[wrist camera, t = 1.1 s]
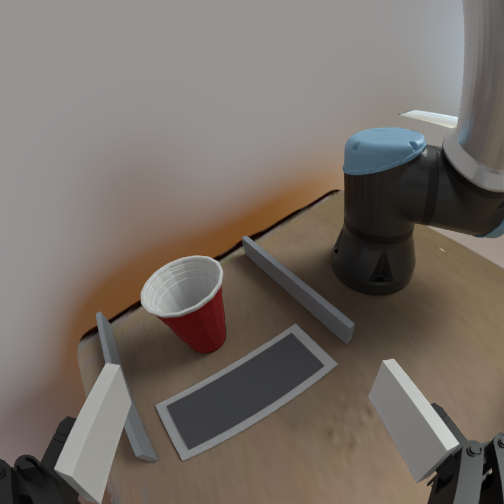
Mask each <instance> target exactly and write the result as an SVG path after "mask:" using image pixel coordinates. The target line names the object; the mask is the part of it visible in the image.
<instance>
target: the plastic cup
mask: <svg viewBox="0 0 504 504" xmlns="http://www.w3.org/2000/svg"><path fill="white" fill-rule="evenodd" d="M222 278H223V270H222V268H221V266H220V264H219V262H218V261H216V260H214V259H212V258H210V257H207V256H190V257H184V258H180V259H178V260H175V261H173V262H171V263H168V264H166V265H165V266H163V267H162V268H160V269H159V270H157V271H156V272H155V273H154V274H153V275H152V276H151V277H150V278H149V279H148V280H147V281H146V283H145V285H144V287H143V290H142V292H141V304H142V305H143V306H144V307H145V309H146V310H147V311H148V312H149V313H150V314H153V315H155V316H157V317H158V318H159V319H161V320H162V321H163V322H164V323H165V324H167V325H168V326H169V327H170V328H171V329H172V330H173V331H174V332H175V333H176V334H177V335H178V336H179V337H180V338H181V339H182V340H183V341H184V342H185V343H187V344H188V345H189V346H190V347H191V348H192V349H193V350H195V351H197V352H200V353H211V352H213V351H216V350H217V349H218V348H220V347H221V346H222V345H223V343H224V341H225V338H226V326H225V314H224V307H223V299H222V287H221V286H222Z"/></svg>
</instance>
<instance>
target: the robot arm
mask: <svg viewBox="0 0 504 504" xmlns="http://www.w3.org/2000/svg"><path fill="white" fill-rule="evenodd" d="M462 1H463V12H464V31H465V54H464V57H465V58H464V75H463V87H462V96H461V104H460V111H459V117H458V123H457V127H456V128H453V129H451V130H449V131H448V132H447V133H446V134H445V136H444V139H443V144H442V147H438V146H431V145H426V141H425V139H424V136H423V135H422V134H420V133H419V132H417V131H414V130H406V129H404V128H391V127H388V128H375V129H368V130H364V131H361V132H358V133H356V134H354V135H352V136H351V137H350V138H349V139H348V140H347V142H346V144H345V153H344V154H345V155H344V165H343V171H344V185H345V186H344V187H345V188H344V189H345V190H344V224H343V227H342V229H341V232H340V234H339V236H338V239H337V241H336V243H335V246H334V249H333V261H332V264H333V269H334V271H335V273H336V275H337V276H338V278H339V279H340V280H341V281H342V282H343V283H344V284H346V285H347V286H349V287H350V288H352V289H354V290H357V291H359V292H362V293H366V294H372V295H384V294H390V293H394V292H396V291H399V290H400V289H402V288H403V287H405V286H406V285H407V284H408V283H409V281H410V280H411V278H412V275H413V272H414V268H415V261H416V260H415V250H414V241H413V230H414V224H422V225H427V226H433V227H437V228H442V229H446V230H451V231H455V232H460V233H464V234H468V235H472V236H475V237H480V238H484V237H487V238H497V237H500V236H502V235H503V234H504V0H462ZM368 397H369V399H370V401H371V403H372V404H373V406H374V408H375V409H376V411H377V413H378V415H379V416H380V418H381V420H382V422H383V423H384V425H385V427H386V429H387V430H388V432H389V434H390V436H391V437H392V439H393V441H394V443H395V445H396V446H397V448H398V450H399V452H400V454H401V455H402V457H403V459H404V461H405V463H406V464H407V466H408V468H409V470H410V472H411V474H412V476H413V477H414V479H415V481H416V483H418V482H420V481H422V480H424V479H426V478H428V477H429V476H430V475H431V474H432V473H433V472H434V471H436V472H437V475H435V476H434V477H433V478H432V479H431V480H430V481H429V482H428V484H427V486H429V485H430V484H431V483H432V482H433V481H434V482H433V485H432V486H431V487H432V490H431V493H430V497H429V500H428V504H504V433H499V434H497V435H496V436H495V437H494V438H493V440H492V441H489V442H486V443H482V444H480V443H479V442H477V441H474V440H473V441H468V440H467V439H466V438H465V437H464V435H463V434H462V433H461V432H460V430H459V429H458V428H457V426H456V425H455V424H454V422H453V421H451V418H450V417H449V416H447V413H446V412H445V411H444V410H443V408H442V407H440V406H439V405H437V404H436V403H433V404H430V403H429V402H428V401H427V400H426V398H425V397H424V396H423V394H422V393H421V392H420V391H419V389H418V388H417V387H416V386H415V384H414V383H413V382H412V380H411V379H410V378H409V377H408V375H407V374H406V373H405V372H404V371H403V369H402V368H401V367H400V366H399V364H398V363H397V362H396V361H395V359H389V360H383V361H382V363H381V366H380V369H379V371H378V374H377V377H376V379H375V382H374V384H373V387H372V389H371V391H370V394H369V396H368ZM131 404H132V402H131V399H130V396H129V393H128V390H127V387H126V384H125V381H124V377H123V374H122V371H121V367H120V365H116V364H109V363H106V364H105V366H104V368H103V370H102V372H101V373H100V375H99V377H98V379H97V381H96V383H95V384H94V386H93V388H92V390H91V392H90V394H89V396H88V398H87V400H86V402H85V404H84V406H83V407H82V410H81V412H80V413H79V416H78V418H77V419H75V418H71V417H68V416H67V418H65V419H64V420H63V421H62V422H60V424H59V426H58V428H57V430H56V433H55V434H54V436H53V439H52V440H51V442H50V444H49V446H48V448H47V450H46V452H45V454H44V456H43V459H42V461H41V463H40V462H39V461H38V460H37V459H36V458H35V457H33V456H30V455H22V456H20V457H19V458H18V459H17V460H16V461H15V464H14V468H13V467H10V466H9V465H8V464H7V463H6V462H5V461H4V460H1V459H0V504H81V503H80V502H79V500H78V496H79V494H80V495H81V496H82V497H83V498H84V499H86V500H89V501H92V502H94V503H97V504H101V502H102V498H103V495H104V491H105V487H106V483H107V480H108V476H109V472H110V469H111V466H112V462H113V459H114V455H115V452H116V449H117V446H118V443H119V439H120V436H121V433H122V430H123V427H124V424H125V421H126V418H127V415H128V412H129V409H130V406H131ZM491 468H492V473H491V474H489V470H490V469H491Z"/></svg>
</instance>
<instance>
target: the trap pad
mask: <svg viewBox="0 0 504 504" xmlns="http://www.w3.org/2000/svg"><path fill="white" fill-rule="evenodd" d="M337 365H338V363H336V362H335V361H334V360H333V359H332V358H331V357H330V356H329V355H328V354H327V353H326V352H325V351H324V350H323V349H322V348H321V347H320V346H319V345H318V344H316V343H315V342H314V341H313V340H312V339H311V338H310V337H309V336H308V335H307V334H306V333H305V332H304V331H303V330H302V329H301V328H300V327H299V326H298V325H297V324H296V323H295V324H294V325H292V326H291V327H290V328H288V329H287V330H285V331H284V332H282V333H280V334H279V335H277V336H276V337H274V338H273V339H271V340H270V341H268V342H267V343H265V344H263V345H262V346H260V347H259V348H257V349H255V350H254V351H252V352H251V353H249V354H247V355H246V356H244V357H242V358H241V359H239V360H237V361H236V362H234V363H232V364H231V365H229V366H227V367H226V368H224V369H222V370H220V371H219V372H217V373H215V374H213V375H212V376H210V377H208V378H206V379H204V380H203V381H201V382H199V383H197V384H195V385H193V386H192V387H190V388H188V389H186V390H184V391H182V392H180V393H178V394H176V395H174V396H173V397H171V398H169V399H167V400H165V401H163V402H161V403H159V404H156V405H155V406H156V408H157V410H158V413H159V415H160V417H161V419H162V421H163V424H164V426H165V428H166V430H167V432H168V434H169V436H170V438H171V440H172V442H173V444H174V446H175V448H176V450H177V451H178V453H179V455H180V457H181V459H182V461H185V460H187V459H190V458H192V457H194V456H196V455H198V454H200V453H202V452H204V451H206V450H208V449H210V448H212V447H214V446H216V445H218V444H220V443H222V442H224V441H226V440H228V439H229V438H231V437H233V436H235V435H237V434H238V433H240V432H242V431H244V430H245V429H247V428H249V427H250V426H252V425H254V424H255V423H257V422H259V421H260V420H262V419H264V418H265V417H267V416H268V415H270V414H271V413H273V412H275V411H276V410H278V409H279V408H281V407H282V406H284V405H285V404H287V403H288V402H289V401H291V400H292V399H294V398H295V397H297V396H298V395H299V394H301V393H302V392H304V391H305V390H306V389H308V388H309V387H310V386H312V385H313V384H314V383H316V382H317V381H318V380H320V379H321V378H322V377H324V376H325V375H326V374H327V373H329V372H330V371H331V370H332V369H334V368H335V367H336V366H337Z"/></svg>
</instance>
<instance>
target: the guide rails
mask: <svg viewBox="0 0 504 504" xmlns="http://www.w3.org/2000/svg"><path fill="white" fill-rule="evenodd" d="M242 242H243V246H244V250H245V255H247V256H248V257H249V258H250V259H251V260H252V261H253V262H254V263H255V264H257V265H258V266H259V267H260V268H261V269H262V270H263V271H264V272H265V273H267V274H268V275H269V276H270V277H271V278H272V279H273V280H274V281H275V282H277V283H278V284H279V285H280V286H281V287H282V288H283V289H284V290H285V291H287V292H288V293H289V294H290V295H291V296H292V297H293V298H294V299H296V300H297V301H298V302H299V303H300V304H301V305H302V306H303V307H304V308H306V309H307V310H308V311H309V312H310V313H311V314H312V315H313V316H315V317H316V318H317V319H318V320H319V321H320V322H321V323H322V324H324V325H325V326H326V327H327V328H328V329H329V330H330V331H331V332H333V333H334V334H335V335H336V336H337V337H338V338H339V339H340V340H342V341H343V342H344V343H345V344H346V345H347V344H348V343H349V342H350V341H352V336H353V332H354V327H355V323H353V322H352V321H351V320H350V319H349V318H347V317H346V316H345V315H344V314H342V313H341V312H340V311H339V310H338V309H336V308H335V307H334V306H333V305H331V304H330V303H329V302H328V301H327V300H325V299H324V298H323V297H322V296H320V295H319V294H318V293H317V292H316V291H314V290H313V289H312V288H311V287H309V286H308V285H307V284H306V283H304V282H303V281H302V280H301V279H300V278H298V277H297V276H296V275H295V274H293V273H292V272H291V271H290V270H288V269H287V268H286V267H285V266H283V265H282V264H281V263H280V262H278V261H277V260H276V259H275V258H274V257H272V256H271V255H270V254H269V253H267V252H266V251H265V250H264V249H262V248H261V247H260V246H259V245H257V244H256V243H255V242H254V241H252V240H251V239H250V238H249V237H247V236H245V237H242ZM96 318H97V324H98V330H99V335H100V340H101V345H102V350H103V355H104V359H105V363H109V364H116V365H120V367H121V371H122V374H123V377H124V381H125V384H126V387H127V390H128V393H129V396H130V399H131V402H132V404H131V406H130V409H129V412H128V415H127V418H126V421H125V424H124V428H125V430H126V433H127V436H128V438H129V441H130V443H131V446H132V448H133V451H134V453H135V456H136V457H138V458H141V459H143V460H146V461H149V462H152V463H153V462H155V461H157V460H158V458H157V455H156V453H155V451H154V449H153V447H152V445H151V442H150V440H149V438H148V436H147V433H146V431H145V429H144V426H143V424H142V421H141V419H140V416H139V414H138V411H137V409H136V406H135V403H134V400H133V398H132V395H131V392H130V389H129V386H128V383H127V380H126V377H125V374H124V370H123V367H122V364H121V360H120V357H119V353H118V350H117V346H116V342H115V338H114V334H113V330H112V326H111V324H110V323H109V322H108V321H107V319H106V318H105V317H104V316H103V314H102V313H101V312H99V313H97V314H96Z"/></svg>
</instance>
